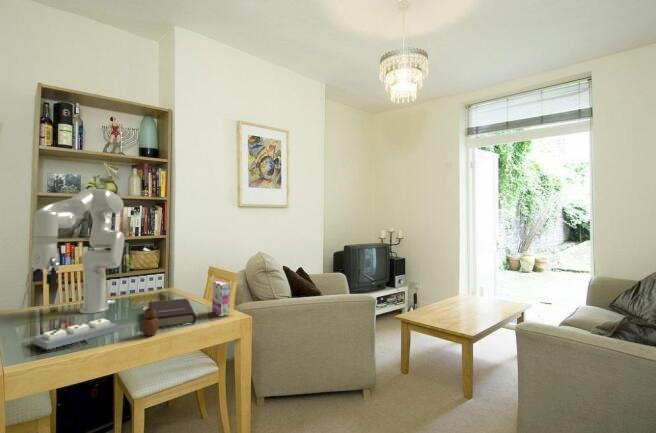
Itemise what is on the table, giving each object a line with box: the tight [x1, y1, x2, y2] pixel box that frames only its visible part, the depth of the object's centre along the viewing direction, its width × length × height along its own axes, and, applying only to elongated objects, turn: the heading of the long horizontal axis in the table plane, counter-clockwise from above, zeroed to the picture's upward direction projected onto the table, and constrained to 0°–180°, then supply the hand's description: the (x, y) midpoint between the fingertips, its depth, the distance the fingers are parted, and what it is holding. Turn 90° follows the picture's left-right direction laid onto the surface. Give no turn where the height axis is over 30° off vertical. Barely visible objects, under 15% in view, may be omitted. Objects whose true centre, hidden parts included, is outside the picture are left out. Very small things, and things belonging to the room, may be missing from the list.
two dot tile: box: [67, 323, 89, 334], centre depth 138 cm, size 6×6×3 cm
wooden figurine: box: [141, 301, 159, 336], centre depth 143 cm, size 7×6×15 cm
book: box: [148, 298, 197, 329], centre depth 166 cm, size 28×20×6 cm
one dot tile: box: [88, 318, 111, 328], centre depth 145 cm, size 6×6×3 cm
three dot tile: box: [42, 328, 67, 341], centre depth 131 cm, size 6×6×3 cm
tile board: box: [33, 321, 119, 350], centre depth 138 cm, size 25×12×3 cm, turn 150°
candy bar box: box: [211, 280, 231, 315], centre depth 174 cm, size 11×5×16 cm, turn 41°
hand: (44, 282), depth 136 cm, fingers open, 9 cm apart
